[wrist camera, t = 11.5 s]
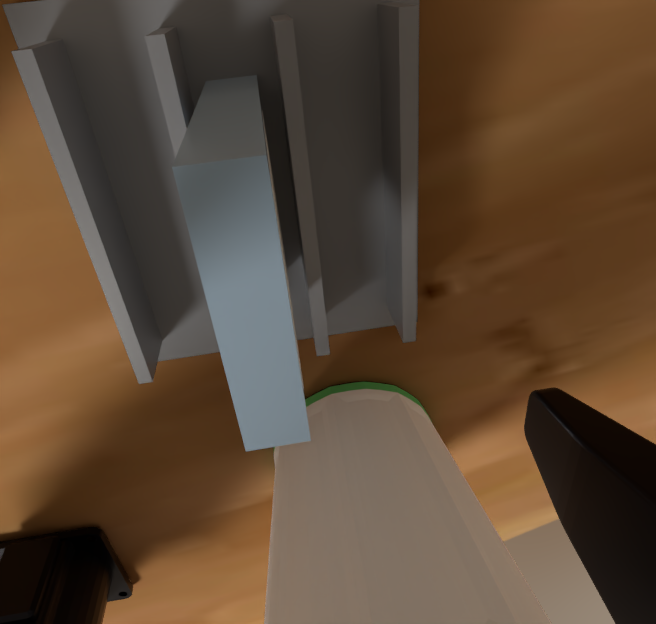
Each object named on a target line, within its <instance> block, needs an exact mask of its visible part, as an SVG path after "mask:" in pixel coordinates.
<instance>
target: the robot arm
mask: <svg viewBox="0 0 656 624" xmlns="http://www.w3.org/2000/svg"><path fill="white" fill-rule="evenodd" d="M524 431H525V436H526V440H527V442H528V445H529V447H530V449H531V452H532V454H533V457H534V459H535V462H536V464H537V466H538V469H539V471H540V474H541V476H542V479H543V481H544V483H545V486H546V488H547V491H548V493H549V495H550V498H551V500H552V503H553V505H554V508H555V510H556V512H557V514H558V517H559V519H560V521H561V523H562V525H563V527H564V529H565V531H566V533H567V535H568V537H569V539H570V541H571V543H572V544H573V546H574V548H575V550H576V552H577V554H578V556H579V557H580V559H581V561H582V563H583V565H584V567H585V568H586V570H587V572H588V574H589V576H590V578H591V579H592V581H593V583H594V585H595V587H596V589H597V590H598V592H599V594H600V596H601V598H602V600H603V601H604V603H605V605H606V607H607V609H608V611H609V612H610V614H611V616H612V618H613V620H614V622H615V624H656V444H654V443H652V442H650V441H649V440H647V439H645V438H644V437H642V436H640V435H638V434H637V433H635V432H633V431H631V430H630V429H628V428H626V427H625V426H623V425H621V424H619V423H618V422H616V421H614V420H612V419H611V418H609V417H607V416H605V415H604V414H602V413H600V412H599V411H597V410H595V409H593V408H592V407H590V406H588V405H586V404H585V403H583V402H581V401H579V400H578V399H576V398H574V397H573V396H571V395H569V394H567V393H566V392H564V391H562V390H560V389H558V388H547V389H541V390H535V391H533V392H532V393H531V394H530V396H529V400H528V406H527V412H526V418H525V424H524ZM132 591H133V585H132V584H131V582H130V580H129V578H128V576H127V575H126V573H125V571H124V569H123V567H122V565H121V564H120V562H119V560H118V558H117V556H116V554H115V553H114V551H113V549H112V547H111V545H110V543H109V542H108V540H107V538H106V536H105V534H104V532H103V531H102V530H101V529H100V528H97V527H88V528H83V529H77V530H71V531H65V532H59V533H53V534H48V535H42V536H36V537H30V538H24V539H18V540H13V541H7V542H1V543H0V624H102V622H103V617H104V613H105V609H106V604H107V602H109V601H115V600H120V599H126V598H129V597H130V596H131V595H132Z"/></svg>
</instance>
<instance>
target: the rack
mask: <svg viewBox="0 0 656 624" xmlns="http://www.w3.org/2000/svg"><path fill="white" fill-rule="evenodd" d="M2 6H3V9H4V11H5V14H6V17H7V19H8V22H9V25H10V27H11V30H12V33H13V35H14V38H15V41H16V43H17V46H18V49H17V50H14V51H11V52H12V54H13V57H14V60H15V62H16V65H17V67H18V70H19V73H20V75H21V78H22V81H23V83H24V86H25V88H26V91H27V94H28V96H29V99H30V101H31V104H32V107H33V109H34V112H35V114H36V117H37V120H38V122H39V125H40V127H41V130H42V133H43V135H44V138H45V140H46V143H47V146H48V148H49V151H50V153H51V156H52V159H53V161H54V164H55V166H56V169H57V172H58V174H59V177H60V180H61V182H62V185H63V187H64V190H65V193H66V195H67V198H68V200H69V203H70V206H71V208H72V211H73V213H74V216H75V219H76V221H77V224H78V226H79V229H80V232H81V234H82V237H83V239H84V242H85V245H86V247H87V250H88V252H89V255H90V258H91V260H92V263H93V266H94V268H95V271H96V273H97V276H98V279H99V281H100V284H101V286H102V289H103V292H104V294H105V297H106V299H107V302H108V305H109V307H110V310H111V312H112V315H113V318H114V320H115V323H116V325H117V328H118V331H119V333H120V336H121V338H122V341H123V344H124V346H125V349H126V351H127V354H128V357H129V359H130V362H131V365H132V367H133V370H134V372H135V375H136V378H137V380H138V383H139V384H142V383H149V382H153V379H154V374H155V370H156V366H157V362H158V361H164V360H171V359H178V358H184V357H191V356H197V355H204V354H210V353H217V352H220V350H219V347H218V343H217V339H216V335H215V331H214V327H213V323H212V320H211V316H210V312H209V308H208V304H207V300H206V296H205V293H204V289H203V285H202V281H201V277H200V273H199V270H198V266H197V262H196V258H195V254H194V250H193V246H192V243H191V239H190V235H189V231H188V227H187V223H186V220H185V216H184V212H183V208H182V204H181V200H180V196H179V193H178V189H177V185H176V181H175V177H174V173H173V169H172V166H173V163H174V161H175V158H176V156H177V153H178V150H179V148H180V145H181V143H182V140H183V138H184V135H185V133H186V130H187V128H188V125H189V123H190V120H191V118H192V115H193V113H194V110H195V108H196V105H197V103H198V100H199V97H200V95H201V92H202V90H203V87H204V85H205V82H206V81H211V80H220V79H228V78H236V77H244V76H253V75H257V80H258V87H259V93H260V100H261V106H262V111H263V116H264V122H265V129H266V135H267V142H268V149H269V155H270V162H271V168H272V175H273V181H274V188H275V194H276V201H277V207H278V214H279V220H280V227H281V234H282V240H283V247H284V253H285V260H286V267H287V274H288V281H289V288H290V294H291V301H292V308H293V315H294V322H295V329H296V336H297V340H302V339H308V338H314V343H315V349H316V354H317V356H323V355H329V354H330V348H329V340H328V335H334V334H341V333H347V332H354V331H361V330H367V329H374V328H380V327H387V326H393V325H396V328H397V330H398V332H399V335H400V337H401V339H402V342H403V343H406V342H413V341H416V322H417V310H418V134H419V0H41V1H31V2H22V3H13V4H4V5H2Z"/></svg>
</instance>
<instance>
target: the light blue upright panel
mask: <svg viewBox="0 0 656 624" xmlns="http://www.w3.org/2000/svg"><path fill="white" fill-rule="evenodd" d="M172 169H173V173H174V177H175V181H176V185H177V189H178V193H179V196H180V200H181V204H182V208H183V212H184V216H185V220H186V223H187V227H188V231H189V235H190V239H191V243H192V246H193V250H194V254H195V258H196V262H197V266H198V270H199V273H200V277H201V281H202V285H203V289H204V293H205V296H206V300H207V304H208V308H209V312H210V316H211V320H212V323H213V327H214V331H215V335H216V339H217V343H218V347H219V350H220V354H221V358H222V362H223V366H224V370H225V373H226V377H227V381H228V385H229V389H230V393H231V397H232V400H233V404H234V408H235V412H236V416H237V420H238V423H239V427H240V431H241V435H242V439H243V443H244V447H245V450H246V451H252V450H258V449H264V448H270V447H276V446H282V445H288V444H294V443H301V442H307V441H311V437H310V430H309V423H308V416H307V409H306V402H305V395H304V385H303V378H302V371H301V364H300V357H299V350H298V343H297V336H296V329H295V322H294V315H293V308H292V301H291V294H290V288H289V281H288V274H287V267H286V260H285V253H284V247H283V240H282V234H281V227H280V220H279V214H278V207H277V201H276V194H275V188H274V181H273V175H272V168H271V162H270V155H269V149H268V142H267V135H266V129H265V122H264V116H263V111H262V106H261V100H260V93H259V87H258V80H257V75H253V76H244V77H236V78H228V79H220V80H211V81H206V82H205V85H204V87H203V90H202V92H201V95H200V97H199V100H198V103H197V105H196V108H195V110H194V113H193V115H192V118H191V120H190V123H189V125H188V128H187V130H186V133H185V135H184V138H183V140H182V143H181V145H180V148H179V150H178V153H177V156H176V158H175V161H174V163H173V166H172Z"/></svg>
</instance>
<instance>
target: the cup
mask: <svg viewBox="0 0 656 624" xmlns="http://www.w3.org/2000/svg"><path fill="white" fill-rule="evenodd" d="M305 402H306V409H307V416H308V423H309V430H310V437H311V441H307V442H301V443H294V444H288V445H282V446H276V447H273V448H274V464H275V479H274V493H273V507H272V521H271V535H270V549H269V563H268V577H267V591H266V605H265V619H264V624H552V623H551V621H550V620H549V618H548V616H547V615H546V613H545V611H544V610H543V608H542V606H541V605H540V603H539V601H538V600H537V598H536V596H535V595H534V593H533V592H532V590H531V588H530V586H529V585H528V583H527V581H526V579H525V578H524V576H523V574H522V573H521V571H520V569H519V568H518V566H517V564H516V563H515V561H514V559H513V558H512V556H511V554H510V553H509V551H508V549H507V548H506V546H505V544H504V543H503V541H502V539H501V538H500V536H499V534H498V533H497V531H496V529H495V528H494V526H493V524H492V523H491V521H490V519H489V518H488V516H487V514H486V512H485V511H484V509H483V507H482V506H481V504H480V502H479V501H478V499H477V497H476V496H475V494H474V492H473V491H472V489H471V487H470V486H469V484H468V482H467V481H466V479H465V477H464V476H463V474H462V472H461V471H460V469H459V467H458V466H457V464H456V462H455V461H454V459H453V457H452V456H451V454H450V452H449V451H448V449H447V447H446V445H445V444H444V442H443V440H442V439H441V437H440V435H439V434H438V432H437V430H436V429H435V427H434V425H433V424H432V421H431V419H430V417H429V416H428V414H427V412H426V410H425V409H424V407H423V406H422V405H421V403H420V402H419V401H418V399H416V398H415V397H413V396H412V395H410V394H409V393H407V392H406V391H404V390H402V389H400V388H398V387H397V386H395V385H388V384H382V383H373V382H356V383H348V384H342V385H337V386H331V387H328V388H326V389H324V390H322V391H320V392H318V393H316V394H314V395H312V396H311V397H309V398H307V399H305Z"/></svg>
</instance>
